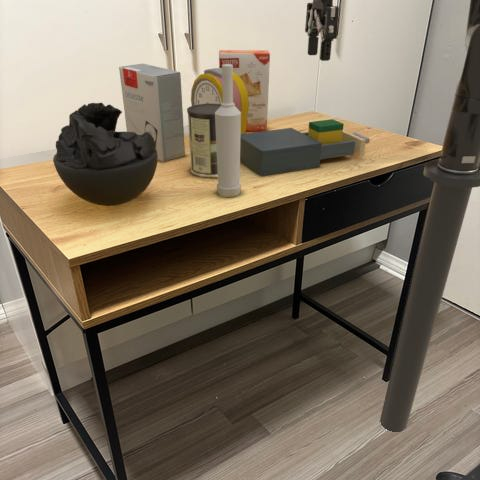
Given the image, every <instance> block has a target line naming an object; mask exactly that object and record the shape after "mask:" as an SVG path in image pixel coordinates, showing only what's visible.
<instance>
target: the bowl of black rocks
mask: <svg viewBox="0 0 480 480" xmlns="http://www.w3.org/2000/svg"><path fill="white" fill-rule="evenodd" d="M122 113H123V111H122V110H121V109H119V108H117V107H114V106H113V105H112V104H107V105H105V104H104V103H103V102H90V103H87V104H85V103H84V104H83V105H81V106H80V107H78V109H75V110H74V111H73V112H71V113H70V114H69V118H68V119H69V120H68V122H69V123H68V125H65V126H63V127H62V128H61V129H60V131H61V132H60V133H59V135H58V138H57V139H58V140H56V141H55V149H56V153H55V154H54V155H53V158H52V162H53V165H54V168H55V170H56V173H57V175H58V176H59V178H60V179H61V181H62V182H63V183H64V185H65V187H66V188H67V189H68V190H70V192H71V193H73V194H74V195H76V196H77V197H79V198H80V199H81V200H83V201H85V202H87V203H90V204H93V205H97V206H103V207H113V206H114V207H115V206H120V205H124V204H127V203H130V202H132V201H134V200H135V199H137V198H138V197H139V196H141V195H142V194H143V193H144V192H145V191H146V190H147V188H148V187H149V185H150V184H151V182H152V181H153V179H154V176H155V173H156V171H157V170H156V169H157V165H158V160H157V159H158V153H157V150H156V149H155V144H154V138H153V137H152V135H151V134H150V133H149V132H145V133H144V134H142V135H138V134H136V133H135V132H127V131H117V124H118V119H119V118H120V116H121V115H122Z"/></svg>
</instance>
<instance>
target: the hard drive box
mask: <svg viewBox="0 0 480 480" xmlns="http://www.w3.org/2000/svg"><path fill="white" fill-rule="evenodd" d="M118 69H119V78H120V79H119V80H120V86H121V93H122V94H121V95H122V101H123V111H124V119H125V127H126V132H135V133H136V134H138V135H142V134H144V133H145V132H149V133H150V134H151V135H152V137H153V138H154V144H155V149H156V150H157V153H158V159H157V161H160V162H162V163H164V162H168V161H171V160H174V159H178V158H182V157H185V156H186V144H185V143H186V142H185V130H184V129H185V127H184V126H185V125H184V111H183V110H184V109H183V94H182V93H183V91H182V75H181V74H182V73H181V72H180V71H178V70H173V69H168V68H164V67H160V66H157V65H151V64H147V63H137V64H130V65H121V66H119V67H118Z"/></svg>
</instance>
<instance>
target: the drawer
mask: <svg viewBox="0 0 480 480" xmlns="http://www.w3.org/2000/svg"><path fill="white" fill-rule="evenodd" d="M308 132H309V131H305V132H302V133H303V134H305V135H307V136H308ZM370 140H371V139H370V138H369V137H367V136H364V135H362V134H360V133H358V132H353V133H351V132H349V131H347V130H344V129H343V134H342V142H339V143H332V144H325V145H322V146H321V158H320V161H321V160H327V159H333V158H340V157H348V156H353V155H354V154H355V155H357V156H359V157H363V156H365V149H366V145H367V144H369V143H370Z"/></svg>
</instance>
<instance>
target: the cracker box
mask: <svg viewBox="0 0 480 480" xmlns="http://www.w3.org/2000/svg"><path fill="white" fill-rule="evenodd" d="M270 61H271V53H270V51H269V50H267V49H264V50H261V49H259V50H258V49H256V50H255V49H219V50H218V68H221V69H222V65H224V64H231V65H233V72H234V73H236V74H238V76H239V77H240V78H241V80H242V81H243V82H244V85H245V88H246V90H247V93H248V101H249V108H248V116H247V124H246V132H262V131H268V114H269V113H268V109H269V87H270Z"/></svg>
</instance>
